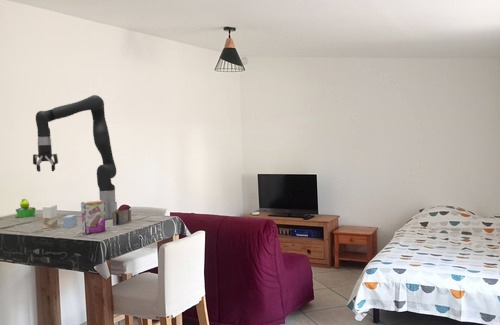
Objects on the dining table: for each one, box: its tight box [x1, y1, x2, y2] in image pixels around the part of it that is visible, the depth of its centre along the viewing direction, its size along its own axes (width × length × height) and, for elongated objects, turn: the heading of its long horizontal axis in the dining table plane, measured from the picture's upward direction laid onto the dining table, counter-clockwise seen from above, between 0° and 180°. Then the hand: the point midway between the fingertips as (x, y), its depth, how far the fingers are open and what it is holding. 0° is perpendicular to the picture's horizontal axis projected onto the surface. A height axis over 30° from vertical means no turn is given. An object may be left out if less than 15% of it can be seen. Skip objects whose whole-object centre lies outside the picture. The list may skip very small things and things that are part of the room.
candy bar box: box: [80, 199, 106, 235], centre depth 260 cm, size 11×5×16 cm, turn 131°
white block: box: [42, 204, 58, 219], centre depth 278 cm, size 4×8×6 cm, turn 177°
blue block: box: [62, 214, 78, 229], centre depth 279 cm, size 4×8×6 cm, turn 178°
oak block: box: [42, 215, 58, 229], centre depth 279 cm, size 4×8×6 cm, turn 178°
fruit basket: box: [15, 198, 37, 219], centre depth 318 cm, size 11×9×11 cm
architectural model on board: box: [112, 208, 132, 227], centre depth 283 cm, size 11×3×10 cm, turn 145°
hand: (46, 171), depth 297 cm, fingers open, 8 cm apart
